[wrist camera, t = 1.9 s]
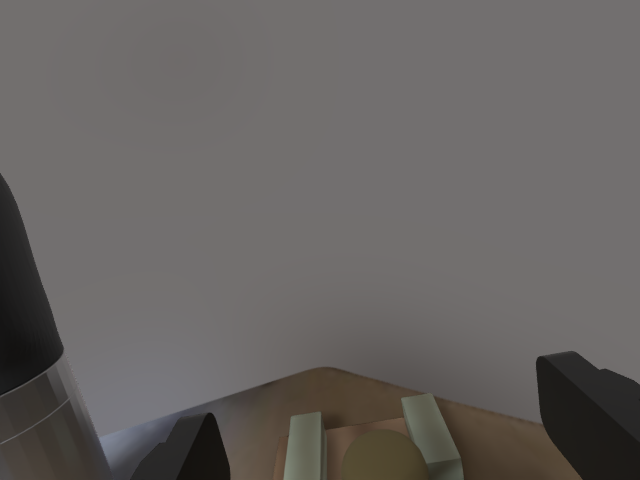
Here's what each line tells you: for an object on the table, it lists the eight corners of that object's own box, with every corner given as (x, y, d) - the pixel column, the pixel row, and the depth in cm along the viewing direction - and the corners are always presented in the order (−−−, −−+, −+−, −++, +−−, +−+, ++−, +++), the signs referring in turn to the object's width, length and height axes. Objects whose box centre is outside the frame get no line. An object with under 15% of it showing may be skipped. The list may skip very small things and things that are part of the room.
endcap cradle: (267, 542, 29) (255, 501, 28) (281, 445, 39) (273, 412, 38) (471, 512, 28) (466, 468, 27) (433, 420, 38) (428, 386, 37)
